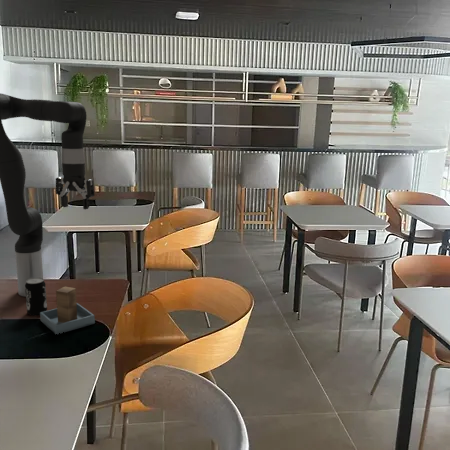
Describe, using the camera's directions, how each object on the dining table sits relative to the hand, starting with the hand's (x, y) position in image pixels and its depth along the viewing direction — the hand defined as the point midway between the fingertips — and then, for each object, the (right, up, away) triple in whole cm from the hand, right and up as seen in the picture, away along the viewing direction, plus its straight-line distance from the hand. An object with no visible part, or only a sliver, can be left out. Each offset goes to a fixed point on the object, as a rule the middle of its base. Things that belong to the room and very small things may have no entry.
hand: (75, 207), depth 163 cm
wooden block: (0, -38, -7) cm, 39 cm away
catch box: (0, -39, -7) cm, 39 cm away
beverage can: (-13, -37, 0) cm, 39 cm away
